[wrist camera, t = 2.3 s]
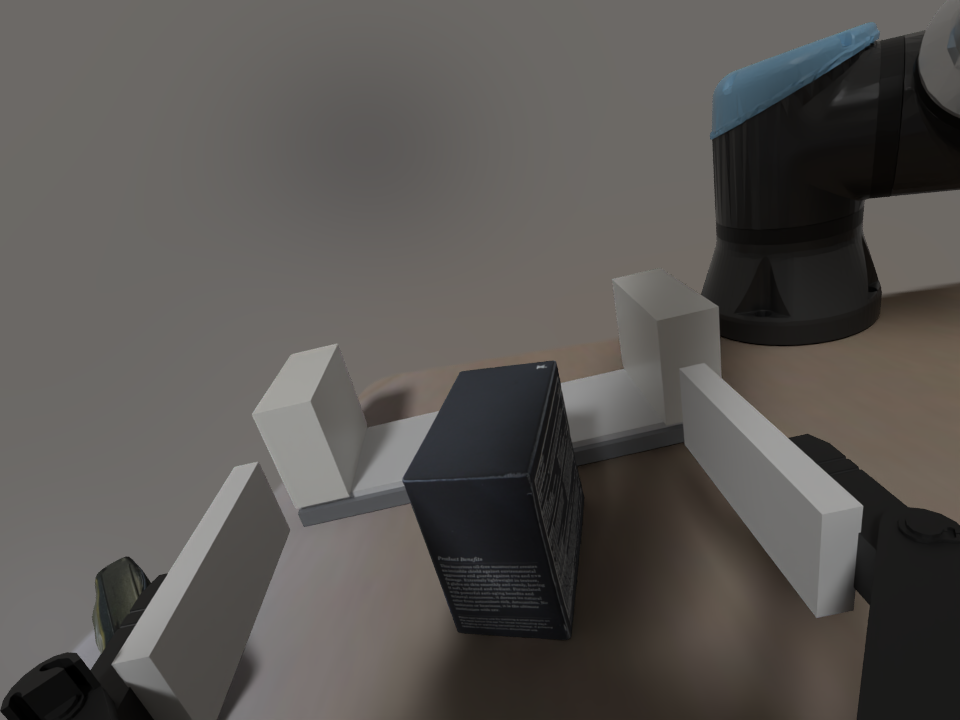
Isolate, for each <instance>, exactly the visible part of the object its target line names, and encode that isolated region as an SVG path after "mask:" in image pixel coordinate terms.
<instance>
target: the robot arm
mask: <svg viewBox="0 0 960 720" xmlns="http://www.w3.org/2000/svg"><path fill="white" fill-rule="evenodd" d="M879 35H880V31H878V29H877V26H876V24H875V23H873V22H869V23H866V24H863V25H860V26H857V27H854V28H852V29H849V30H846V31H843V32H841V33H838V34H835V35H832V36H829V37H827V38H824V39H821V40H818V41H815V42H813V43H810V44H807V45H804V46H802V47H799V48H796V49H793V50H791V51H788V52H785V53H783V54H780V55H777V56H774V57H771V58H769V59H766V60H764V61H760V62H758V63H755V64H752V65H750V66H747V67H744V68H741V69H739V70H736V71H734V72H731V73H730V74H728V75H727V76H725V77H724V78H723V79H722V80H721V81H720V82H719V84H718V85H717V87H716V89H715V91H714V94H713V111H712V132H711V133H710V139H712V141H713V164H714V187H715V210H716V232H717V234H716V235H717V242H716V248H715V251H714V254H713V258H712V261H711V264H710V267H709V270H708V274H707V277H706V280H705V283H704V287H703V290H702V293H701V295H702V296H704V297H705V298H707V299H708V300H710V301H711V302H713V303H714V304H716V305H717V306H719V326H720V335H721V336H724V337H727V338H730V339H734V340H738V341H743V342H749V343H756V344H768V345H800V344H811V343H819V342H825V341H831V340H836V339H840V338H844V337H847V336H850V335H853V334H856V333H858V332H860V331H862V330H864V329H866V328H868V327H869V326H871V325H872V324H873V323H875V321H876V320H877V319H878V317H879V315H880V307H881V296H882V291H881V286H880V283H879V281H878V277H877V274H876V270H875V267H874V264H873V261H872V259H871V255H870V252H869V249H868V246H867V243H866V240H865V237H864V234H863V212H864V202H865V200H866V199H869V198H878V197H890V196H897V195H908V194H919V193H930V192H939V191H950V190H960V0H946V2H945V3H944V4H943V5H942V6H941V8H940V9H939V10H938V11H937V12H936V13H935V15H934V17H933V18H932V20H931V22H930V23H929V25H928V27H927V29H926V30H924V31H920V32H916V33H912V34H907V35H903V36H899V37H895V38H890V39H886V40H881V41H876V40H877V39H879ZM679 373H680V387H681V401H682V415H683V428H684V442H685V446H686V447H687V448H688V450H689V451H690V452H691V454H692V455H693V456H694V457H695V459H696V460H697V461H698V463H699V464H700V465H701V467H702V468H703V469H704V471H705V472H706V473H707V475H708V476H709V477H710V479H711V480H712V481H713V482H714V484H715V485H716V486H717V488H718V489H719V490H720V492H721V493H722V494H723V496H724V497H725V498H726V500H727V501H728V502H729V504H730V505H731V506H732V507H733V509H734V510H735V511H736V513H737V514H738V515H739V517H740V518H741V519H742V521H743V522H744V523H745V525H746V526H747V527H748V528H749V530H750V531H751V532H752V534H753V535H754V536H755V538H756V539H757V540H758V542H759V543H760V544H761V546H762V547H763V548H764V550H765V551H766V552H767V553H768V555H769V556H770V557H771V559H772V560H773V561H774V563H775V564H776V565H777V567H778V568H779V569H780V571H781V572H782V573H783V575H784V576H785V577H786V578H787V580H788V581H789V582H790V584H791V585H792V586H793V588H794V589H795V590H796V592H797V593H798V594H799V596H800V597H801V598H802V599H803V601H804V602H805V603H806V605H807V606H808V607H809V609H810V610H811V611H812V613H813V614H814V615H815V617H816V618H819V617H824V616H829V615H834V614H838V613H843V612H848V611H853V610H854V599H855V589H856V590H857V591H858V592H859V594H860V595H861V596H862V597H863V598H864V599H865V600H866V601H867V603H868V604H869V605H870V610H869V618H868V627H867V635H866V644H865V653H864V661H863V670H862V678H861V687H860V695H859V704H858V712H857V720H960V525H959V524H958V523H957V522H955V521H953V520H951V519H949V518H948V517H946V516H944V515H942V514H939V513H936V512H933V511H929V510H926V509H920V508H910V507H907V506H906V505H905V504H903V503H902V502H901V501H900V500H899V499H897V498H896V497H895V496H894V495H892V494H891V493H890V492H889V491H887V490H886V489H885V488H884V487H883V486H881V485H880V484H879V483H878V482H876V481H875V480H874V479H873V478H872V477H870V476H869V475H868V474H867V473H865V472H864V471H863V470H859V467H858V466H857V465H856V464H854V463H853V462H852V461H851V460H849V459H846V456H845V455H843V454H842V453H841V452H840V451H838V450H837V449H836V448H835V447H834V446H832V445H831V444H830V443H828V442H825V441H823V440H821V439H818V438H816V437H814V436H811V435H809V434H805V435H800V436H795V437H791V438H787V437H786V436H785V435H784V434H783V433H782V432H781V431H780V430H778V429H777V428H776V427H775V426H774V425H773V424H772V423H771V422H770V421H768V420H767V419H766V418H765V417H764V416H763V415H762V414H761V413H760V412H758V411H757V410H756V409H755V408H754V407H753V406H752V405H751V404H750V403H748V402H747V401H746V400H745V399H744V398H743V397H742V396H741V395H740V394H738V393H737V392H736V391H735V390H734V389H733V388H732V387H731V386H730V385H728V384H727V383H726V382H725V381H724V380H723V379H722V378H721V377H719V376H718V375H717V374H716V373H715V372H714V371H713V370H712V369H711V368H709V367H708V366H707V365H706V364H705V363H702V364H697V365H693V366H688V367H684V368H679ZM289 532H290V528H289V526H288V524H287V522H286V520H285V517H284V515H283V513H282V511H281V509H280V507H279V505H278V502H277V500H276V498H275V496H274V494H273V492H272V489H271V487H270V485H269V483H268V481H267V479H266V476H265V475H264V472H263V470H262V468H261V466H260V464H259V462H255V463H250V464H245V465H241V466H236V467H234V469H233V470H232V472H231V474H230V475H229V477H228V478H227V480H226V481H225V483H224V485H223V486H222V488H221V490H220V491H219V493H218V494H217V496H216V498H215V499H214V501H213V502H212V504H211V506H210V507H209V509H208V510H207V512H206V514H205V515H204V517H203V518H202V520H201V522H200V523H199V525H198V526H197V528H196V530H195V531H194V533H193V534H192V536H191V538H190V539H189V541H188V542H187V544H186V546H185V547H184V549H183V550H182V552H181V554H180V555H179V557H178V559H177V560H176V562H175V563H174V565H173V566H172V568H171V570H170V571H169V573H167V574H163V575H159V576H158V577H157V578H156V579H155V580H154V581H153V582H152V583H151V584H150V585H149V586H148V587H147V588H146V589H145V590H144V591H143V592H142V593H141V594H140V596H139V597H138V599H137V600H136V602H135V603H134V605H133V606H132V608H131V609H130V614H127V615H126V617H125V618H124V620H123V622H122V623H121V625H120V629H118V630H117V631H116V632H115V634H114V635H113V637H112V638H111V640H110V641H109V643H108V644H107V646H106V647H105V649H104V650H103V652H102V654H101V655H100V657H99V658H98V660H97V661H96V663H95V664H94V666H93V667H92V669H91V670H89V668H88V667H87V666H86V664H85V663H84V662H83V660H82V659H81V658H80V657H79V656H78V654H77V653H68V652H67V653H63V654H61V655H57V656H54V657H52V658H50V659H48V660H46V661H44V662H42V663H41V664H39V665H38V666H36V667H35V668H33V669H32V670H31V671H29V672H28V673H27V674H25V675H24V676H23V677H22V678H21V679H20V680H19V681H18V682H17V683H16V684H15V685H14V686H13V687H12V688H11V690H10V691H9V693H8V694H7V696H6V697H5V698H4V700H3V703H2V707H1V710H0V711H1V713H2V714H3V715H4V716H5V717H6V718H7V719H8V720H217V718H218V716H219V713H220V710H221V708H222V705H223V703H224V700H225V698H226V695H227V692H228V690H229V687H230V685H231V682H232V679H233V677H234V674H235V672H236V669H237V667H238V664H239V661H240V659H241V656H242V654H243V651H244V648H245V646H246V643H247V641H248V638H249V636H250V633H251V630H252V628H253V625H254V623H255V620H256V617H257V615H258V612H259V610H260V607H261V604H262V602H263V599H264V597H265V594H266V592H267V589H268V586H269V584H270V581H271V579H272V576H273V573H274V571H275V568H276V566H277V563H278V561H279V558H280V555H281V553H282V550H283V548H284V545H285V542H286V540H287V537H288V535H289Z"/></svg>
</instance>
